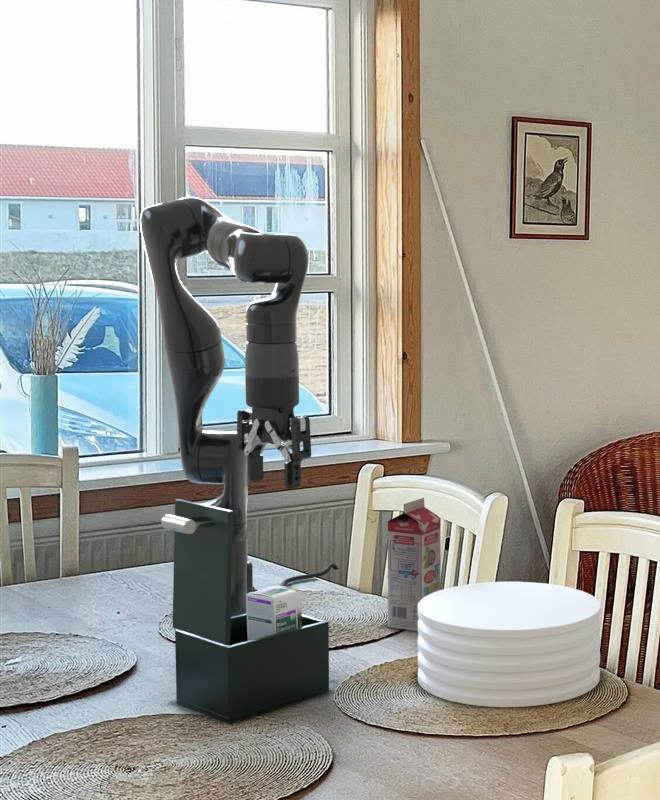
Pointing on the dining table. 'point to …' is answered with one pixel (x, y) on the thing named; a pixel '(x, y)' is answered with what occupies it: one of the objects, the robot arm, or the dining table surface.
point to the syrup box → (273, 611)
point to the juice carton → (412, 562)
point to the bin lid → (202, 569)
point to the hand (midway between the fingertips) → (273, 484)
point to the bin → (252, 670)
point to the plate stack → (509, 643)
